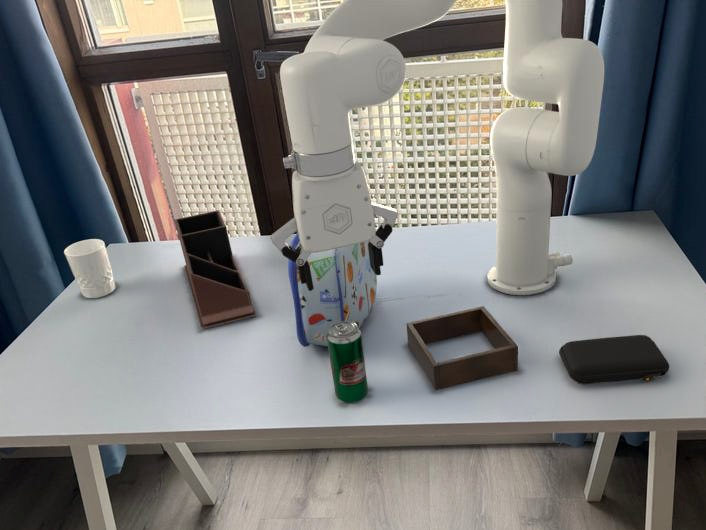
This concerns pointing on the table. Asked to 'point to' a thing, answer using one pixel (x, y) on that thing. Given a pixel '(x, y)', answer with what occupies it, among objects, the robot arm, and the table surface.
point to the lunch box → (332, 291)
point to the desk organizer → (213, 270)
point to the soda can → (347, 361)
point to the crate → (466, 366)
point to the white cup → (91, 267)
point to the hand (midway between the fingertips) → (342, 278)
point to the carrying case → (613, 359)
